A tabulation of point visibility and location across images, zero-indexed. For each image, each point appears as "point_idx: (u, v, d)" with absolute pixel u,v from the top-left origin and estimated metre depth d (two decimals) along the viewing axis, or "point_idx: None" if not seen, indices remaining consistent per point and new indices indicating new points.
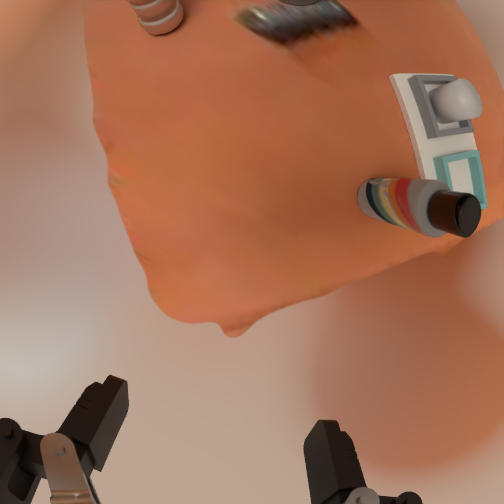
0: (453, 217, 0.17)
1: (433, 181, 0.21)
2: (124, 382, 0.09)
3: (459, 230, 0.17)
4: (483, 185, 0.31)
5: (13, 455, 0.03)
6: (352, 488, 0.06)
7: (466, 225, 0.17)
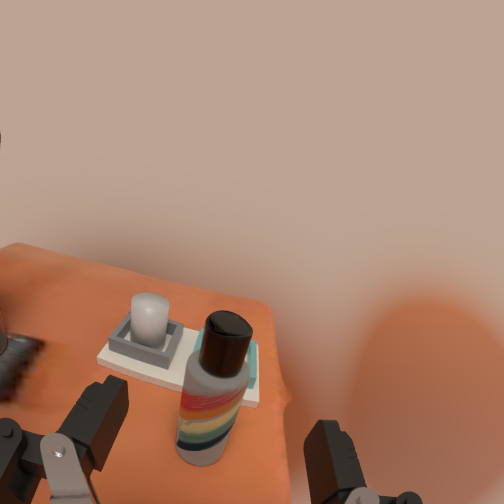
0: (223, 337, 0.19)
1: (188, 358, 0.22)
2: (124, 382, 0.09)
3: (240, 336, 0.19)
4: None
5: (13, 455, 0.03)
6: (351, 488, 0.06)
7: (238, 328, 0.20)
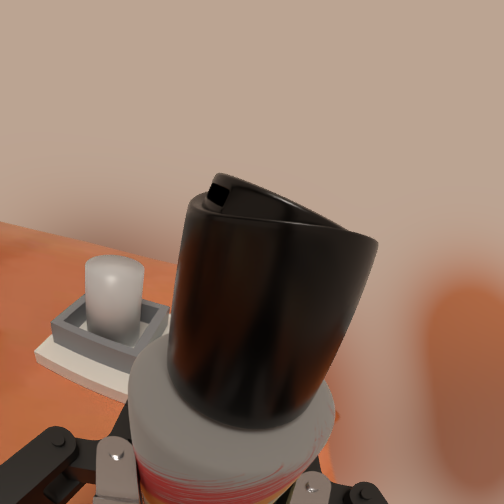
0: (280, 233, 0.04)
1: (138, 357, 0.06)
2: None
3: None
4: None
5: (60, 465, 0.04)
6: None
7: None
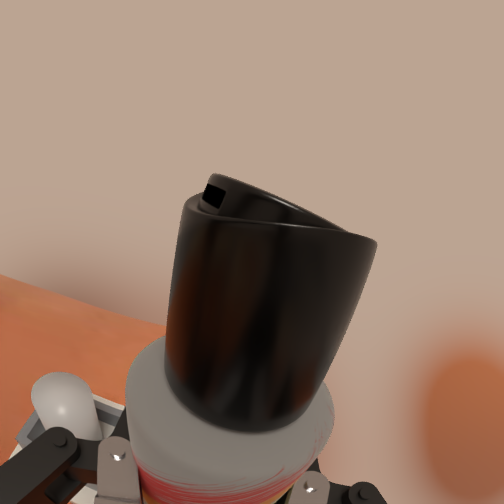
0: (279, 236, 0.03)
1: (134, 361, 0.06)
2: None
3: None
4: None
5: (61, 465, 0.04)
6: None
7: None
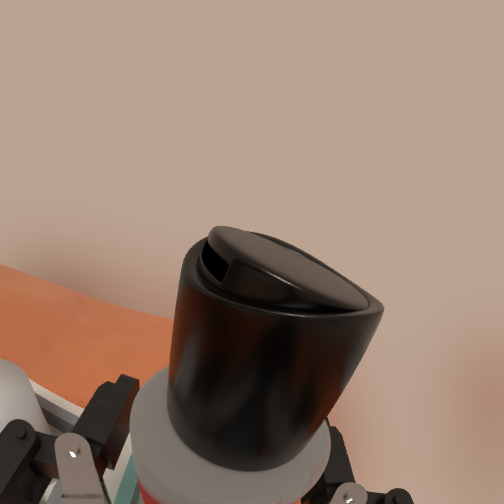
0: (286, 326, 0.03)
1: (137, 397, 0.06)
2: (136, 381, 0.09)
3: (361, 311, 0.04)
4: None
5: (25, 457, 0.04)
6: (339, 483, 0.06)
7: (332, 283, 0.05)
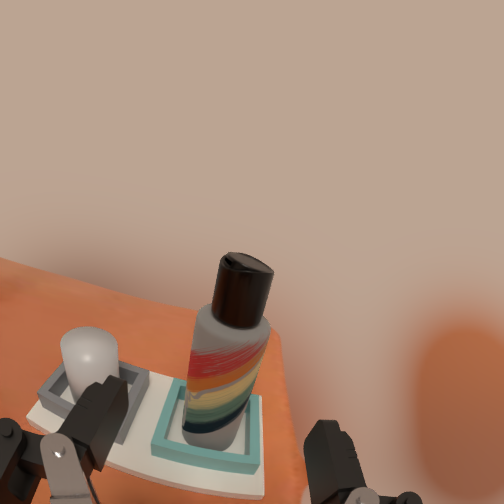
0: (243, 273, 0.17)
1: (198, 312, 0.20)
2: (124, 382, 0.09)
3: (261, 272, 0.17)
4: None
5: (13, 455, 0.03)
6: (352, 488, 0.06)
7: (258, 266, 0.18)
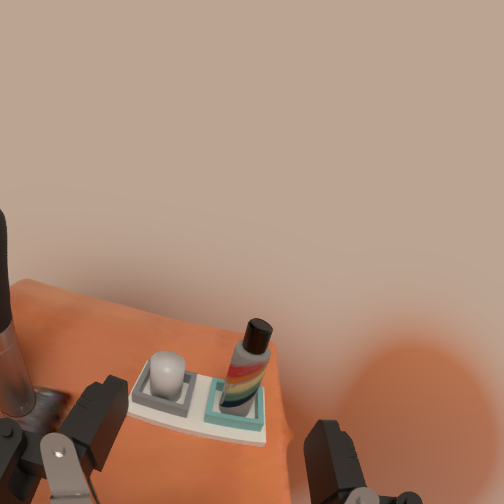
0: (259, 332, 0.37)
1: (236, 346, 0.40)
2: (124, 382, 0.09)
3: (267, 331, 0.38)
4: None
5: (13, 455, 0.03)
6: (352, 488, 0.06)
7: (265, 327, 0.39)
